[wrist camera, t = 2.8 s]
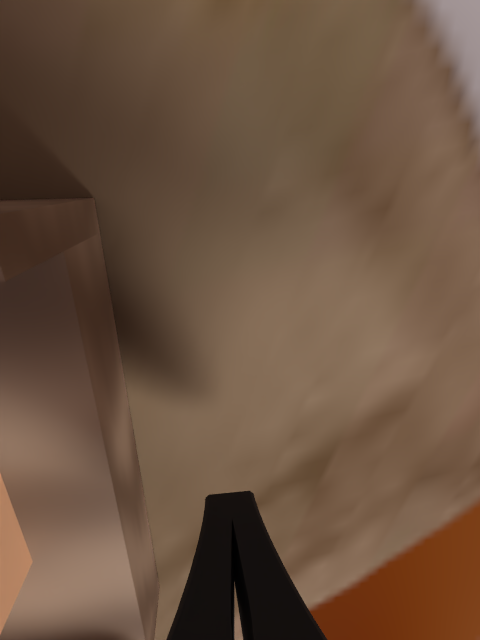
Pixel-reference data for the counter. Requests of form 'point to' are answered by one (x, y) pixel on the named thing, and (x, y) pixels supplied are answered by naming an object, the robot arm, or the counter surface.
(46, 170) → the counter surface
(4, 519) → the terracotta block
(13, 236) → the open tray box
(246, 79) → the counter surface
